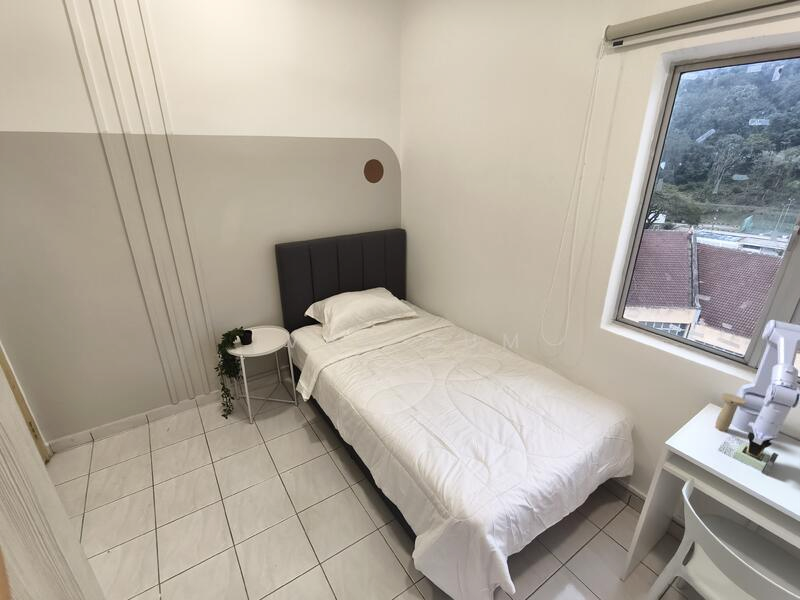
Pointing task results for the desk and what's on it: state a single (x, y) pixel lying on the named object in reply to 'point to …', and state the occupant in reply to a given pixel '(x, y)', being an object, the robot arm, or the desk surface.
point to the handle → (728, 411)
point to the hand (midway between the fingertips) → (754, 451)
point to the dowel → (754, 455)
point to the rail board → (769, 463)
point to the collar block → (751, 458)
